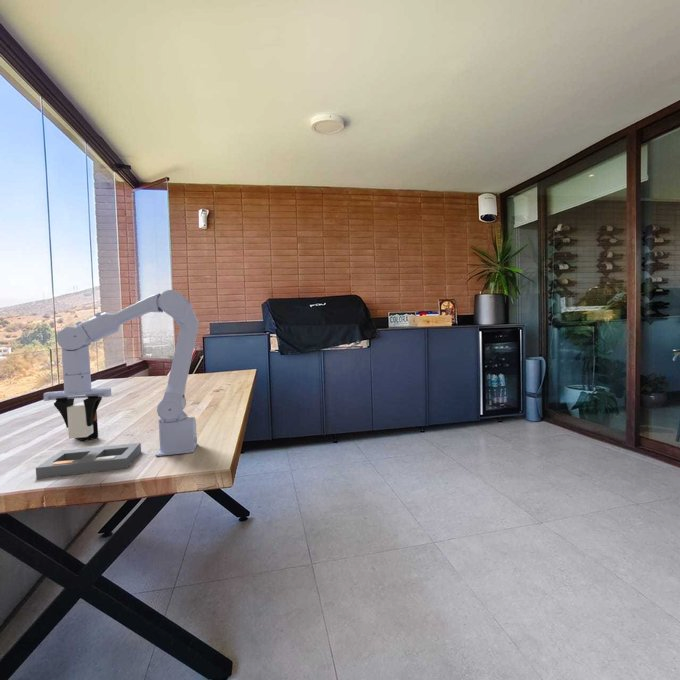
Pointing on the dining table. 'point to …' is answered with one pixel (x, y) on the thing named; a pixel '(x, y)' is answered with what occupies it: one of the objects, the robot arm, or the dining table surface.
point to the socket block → (89, 460)
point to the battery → (95, 430)
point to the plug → (78, 421)
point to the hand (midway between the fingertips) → (80, 425)
